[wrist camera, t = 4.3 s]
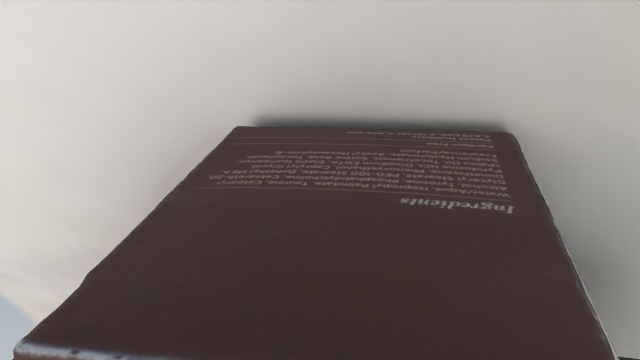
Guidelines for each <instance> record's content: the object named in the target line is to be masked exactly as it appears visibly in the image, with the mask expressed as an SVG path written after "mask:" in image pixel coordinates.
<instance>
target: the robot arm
mask: <svg viewBox="0 0 640 360" xmlns="http://www.w3.org/2000/svg"><path fill="white" fill-rule="evenodd" d="M552 218H553V217H552ZM553 221H554V218H553ZM554 223H555V221H554ZM555 225H556V223H555ZM556 227H557V225H556ZM557 229H558V227H557ZM558 231H559V229H558ZM559 233H560V231H559ZM560 235H561V234H560ZM561 237H562V236H561ZM562 240H563V238H562ZM563 243H564V245H565V248H566V250H567V252H568V254H569V256H570V258H571V259H572V257H571V255H570V253H569V251H568V249H567V246H566V244H565V242H564V240H563ZM572 262H573V259H572ZM573 264H574V262H573ZM574 266H575V264H574ZM575 269H576V271H577V273H578V275H579V272H578V270H577V268H576V266H575ZM579 277H580V275H579ZM580 280H581V282H582V285H583V287H584V290H585V292H586V295H587V297H588V299H589V301H590V302H591V304H592V306H593V308H594V310H595V312H596V314H597V317H598V320H599V322H600V325H601V327H602V329H603V331H604V333H605V335H606V337H607V339H608V342H609V344H610V347H611V349H612V352H613V355H614V358H615V360H640V359H632V358H623V357H617V354H616V352H615V350H614V348H613V346H612V344H611V341H610V339H609V337H608V335H607V333H606V331H605V328H604V326H603V324H602V322H601V320H600V318H599V316H598V313H597V311H596V309H595V307H594V305H593V303H592V300H591V298H590V296H589V294H588V292H587V290H586V287H585V285H584V283H583V281H582V279H581V277H580ZM13 360H14V359H13Z"/></svg>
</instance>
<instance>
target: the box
mask: <svg viewBox="0 0 640 360" xmlns="http://www.w3.org/2000/svg"><path fill="white" fill-rule="evenodd" d="M14 360H615V358H614V355H613V352H612V349H611V347H610V344H609V342H608V339H607V337H606V335H605V333H604V331H603V329H602V327H601V325H600V322H599V320H598V317H597V314H596V312H595V310H594V308H593V306H592V304H591V302H590V301H589V299H588V297H587V295H586V292H585V290H584V287H583V285H582V282H581V280H580V277H579V275H578V273H577V271H576V269H575V266H574V264H573V262H572V259H571V258H570V256H569V254H568V252H567V250H566V248H565V245H564V243H563V240H562V237H561V235H560V233H559V231H558V229H557V227H556V225H555V223H554V221H553V218H552V215H551V213H550V210H549V208H548V206H547V205H546V203H545V200H544V198H543V196H542V194H541V192H540V190H539V187H538V185H537V184H536V182H535V180H534V177H533V175H532V173H531V171H530V169H529V167H528V165H527V162H526V160H525V158H524V155H523V153H522V151H521V149H520V146H519V144H518V141H517V139H516V138H515V136H514V135H512V134H510V133H505V132H472V131H430V130H408V131H405V130H380V129H339V128H336V129H324V128H278V127H247V126H238V127H235V128H234V129H233V130H232V132H231V133H229V134H228V135H227V137H226V138H225V139H224V140H223V141H222V142H221V143H220V144H219V145H218V146H217V147H216V148H215V149H214V150H213V151H212V152H211V153H209V154H208V155H207V156H206V158H205V159H204V160H203V161H202V162H201V163H199V164H198V165H197V167H196V168H195V169H193V170H192V171H191V172H190V173H189V174H188V176H187V177H186V178H185V179H184V180H183V181H182V182H180V183H179V184H178V186H176V187H175V188H174V190H173V191H172V192H170V193H169V194H168V195H167V196H166V197H165V198H164V199H163V200H162V201H161V202H160V203H159V205H158V206H157V207H156V208H155V209H154V210H153V211H152V212H151V213H150V214H149V215H148V216H147V217H146V218H145V219H144V220H143V221H142V222H141V223H140V224H139V225H138V226H137V227H136V228H135V229H134V230H133V231H132V232H131V233H130V234H129V235H128V236H127V237H126V238H125V239H124V240H123V241H122V242H121V243H120V244H119V245H118V246H117V247H116V248H115V249H114V250H113V251H112V252H111V253H110V254H109V255H108V256H107V257H106V258H104V259H103V260H102V261H101V262H100V263H99V264H98V265H97V266H96V267H95V268H93V269H92V270H91V271H90V272H89V273H88V274H87V276H86V277H85V279H84V281H83V282H82V284H81V285H80V286H79V288H78V289H77V290H76V291H75V292H74V293H72V294H71V295H70V296H69V297H68V298H67V299H66V300H65V301H64V302H63V303H62V304H61V305H60V306H59V307H58V308H57V309H56V310H55V311H54V312H53V313H51V314H50V315H49V316H48V317H46V318H45V319H44V320H43V321H42V322H40V323H39V324H38V325H37V326H36V327H35V328H34V329H33V330H32V331H31V332H30V333H29V334H28V335H27V336H25V337H24V338H23V339H22V340H21V341H19V342H18V343H17V345H16V346H15V348H14Z"/></svg>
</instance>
